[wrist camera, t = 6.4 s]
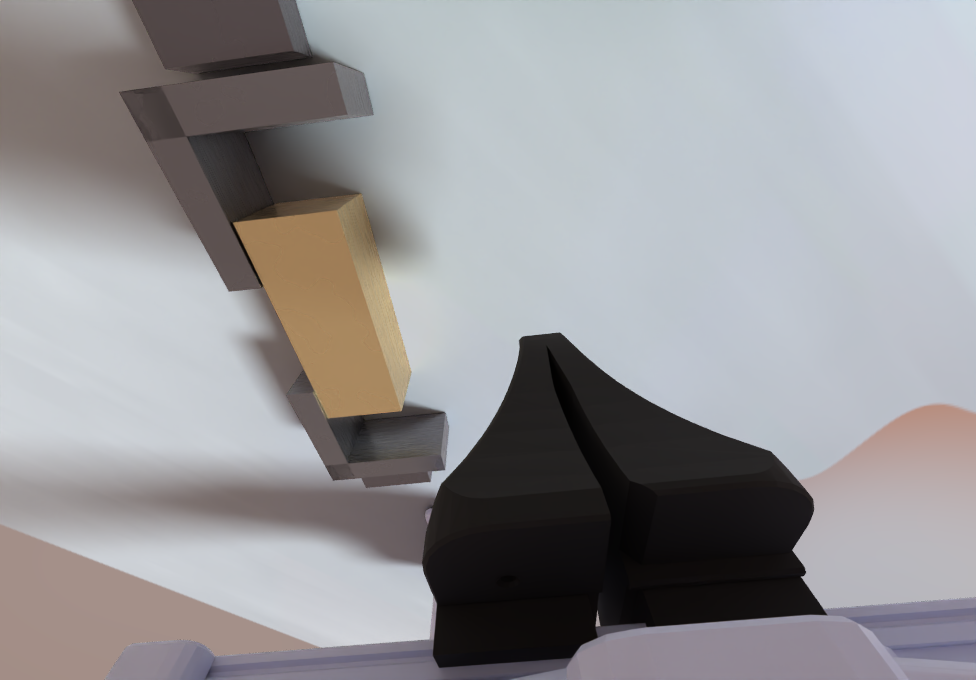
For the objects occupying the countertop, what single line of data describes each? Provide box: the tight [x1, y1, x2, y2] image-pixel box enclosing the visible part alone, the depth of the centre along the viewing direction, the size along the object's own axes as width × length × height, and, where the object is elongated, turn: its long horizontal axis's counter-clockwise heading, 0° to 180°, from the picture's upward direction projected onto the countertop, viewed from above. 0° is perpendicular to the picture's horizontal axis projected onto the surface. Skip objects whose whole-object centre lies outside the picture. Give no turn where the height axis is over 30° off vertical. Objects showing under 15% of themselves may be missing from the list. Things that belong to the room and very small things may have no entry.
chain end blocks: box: [119, 0, 449, 488], centre depth 15 cm, size 23×6×3 cm, turn 6°
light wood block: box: [233, 193, 411, 418], centre depth 15 cm, size 9×4×3 cm, turn 6°
